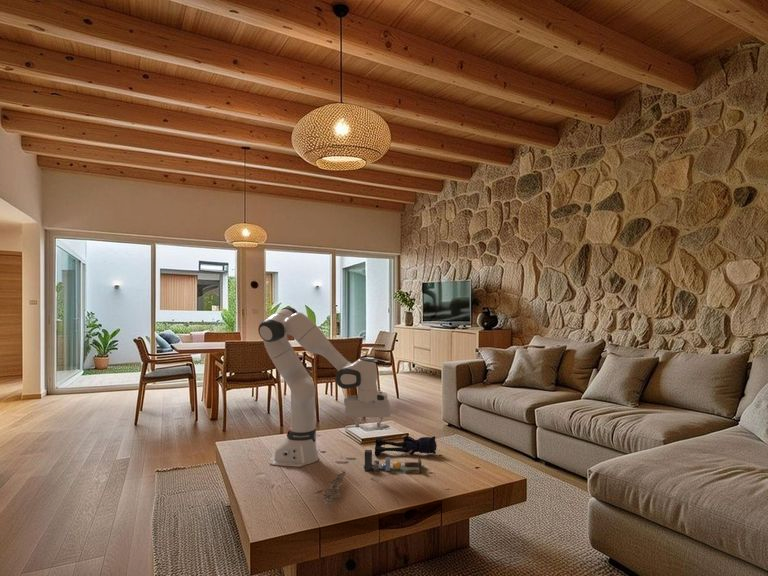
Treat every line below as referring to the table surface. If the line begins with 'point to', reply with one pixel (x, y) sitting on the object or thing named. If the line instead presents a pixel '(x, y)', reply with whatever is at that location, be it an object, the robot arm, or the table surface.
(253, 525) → the table surface
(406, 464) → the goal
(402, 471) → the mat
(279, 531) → the table surface
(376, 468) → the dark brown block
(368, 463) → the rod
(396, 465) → the ball
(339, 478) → the carved scroll ornament
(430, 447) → the toy
